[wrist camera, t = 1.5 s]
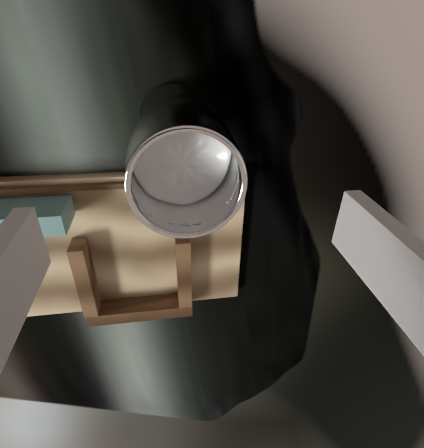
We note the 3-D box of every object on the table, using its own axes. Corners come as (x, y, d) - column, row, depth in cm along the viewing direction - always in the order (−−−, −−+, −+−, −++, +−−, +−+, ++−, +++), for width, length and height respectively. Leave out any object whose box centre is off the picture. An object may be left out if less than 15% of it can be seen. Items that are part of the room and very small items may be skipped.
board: (-32, 178, 30) (-53, 196, 27) (244, 166, 33) (253, 181, 30) (22, 309, 39) (11, 334, 36) (235, 289, 42) (241, 310, 39)
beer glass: (122, 134, 30) (99, 215, 17) (154, 61, 27) (154, 93, 14) (189, 166, 32) (211, 257, 20) (224, 102, 30) (276, 160, 17)
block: (-33, 200, 29) (-58, 223, 26) (71, 194, 30) (60, 216, 27) (-25, 219, 30) (-48, 243, 27) (75, 213, 32) (66, 235, 28)
